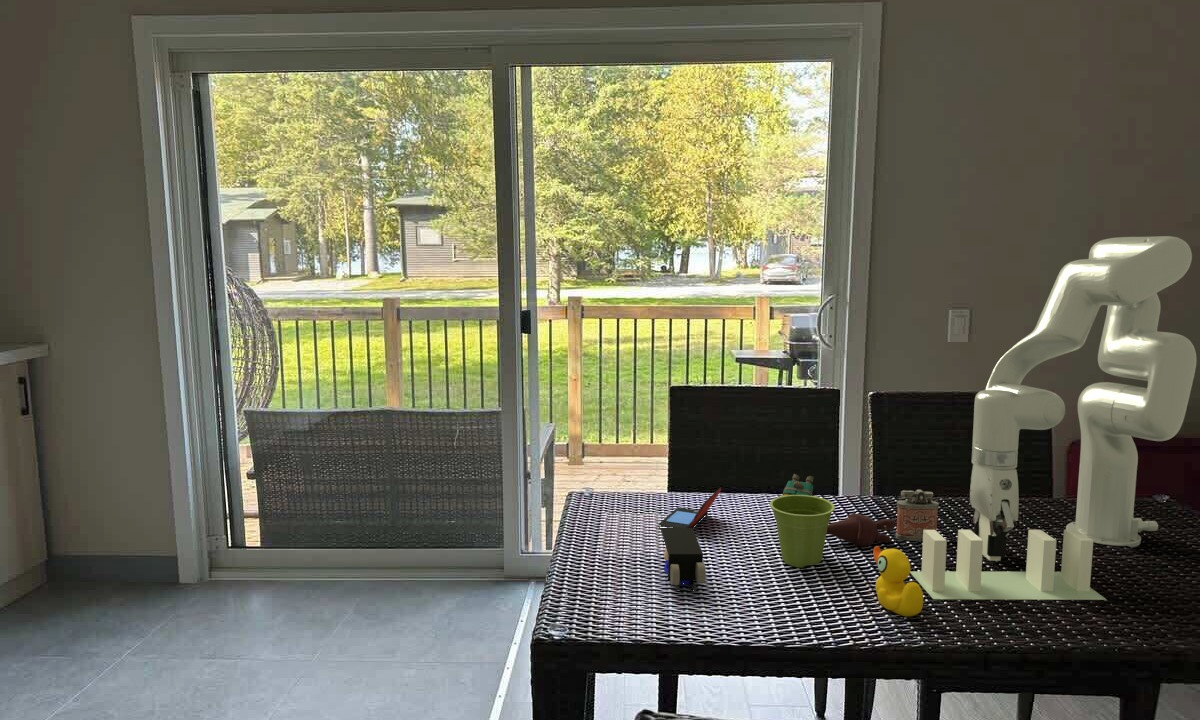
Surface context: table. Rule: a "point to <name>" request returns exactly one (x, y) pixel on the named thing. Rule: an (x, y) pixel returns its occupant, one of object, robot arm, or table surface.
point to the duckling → (896, 583)
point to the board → (1006, 588)
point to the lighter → (916, 515)
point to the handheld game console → (688, 515)
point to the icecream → (861, 530)
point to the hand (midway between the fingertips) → (989, 548)
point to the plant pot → (801, 527)
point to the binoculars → (799, 486)
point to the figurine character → (683, 557)
